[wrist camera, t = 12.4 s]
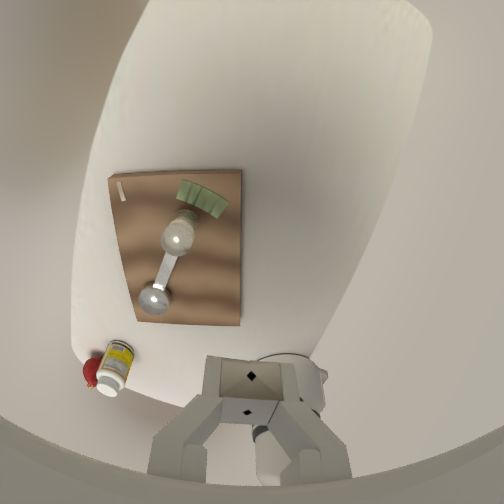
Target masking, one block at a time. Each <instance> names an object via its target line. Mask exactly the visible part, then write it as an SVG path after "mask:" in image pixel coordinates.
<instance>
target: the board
mask: <svg viewBox="0 0 504 504" xmlns="http://www.w3.org/2000/svg"><path fill="white" fill-rule="evenodd" d="M108 186H109V194H110V201H111V207H112V213H113V219H114V225H115V230H116V236H117V241H118V246H119V251H120V255H121V260H122V264H123V269H124V273H125V277H126V281H127V285H128V289H129V293H130V297H131V300H132V304H133V308H134V311H135V315H136V318H137V321H139V322H153V323H168V324H186V325H211V326H240V236H241V170H183V171H159V172H141V173H127V174H114V175H112V176H111V177H109V178H108ZM181 209H188V210H191V211H193V212H194V213H195V214H196V215H197V217H198V219H199V225H198V228H197V231H196V234H195V237H194V240H193V242H192V245H191V248H190V250H189V252H188V253H186V254H185V255H183V256H178V257H177V260H176V262H175V265H174V267H173V269H172V272H171V274H170V277H169V279H168V282H167V284H166V287H165V288H166V289H167V290H168V291H169V293H170V295H171V300H170V303H169V306H168V309H167V311H166V312H165V313H164V314H162V315H151V314H149V313H147V312H145V311H144V310H143V309H142V308H141V307H140V305H139V302H138V297H139V295H140V293H141V291H142V289H143V287H144V286H145V285H146V284H149V283H155V280H156V277H157V274H158V272H159V269H160V266H161V264H162V261H163V258H164V256H165V253H166V251H165V250H164V249H163V248H162V245H161V236H162V234H163V232H164V230H165V229H166V227H167V225H168V224H169V222H170V220H171V219H172V217H173V215H174V214H175V213H176V212H177V211H178V210H181Z"/></svg>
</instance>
